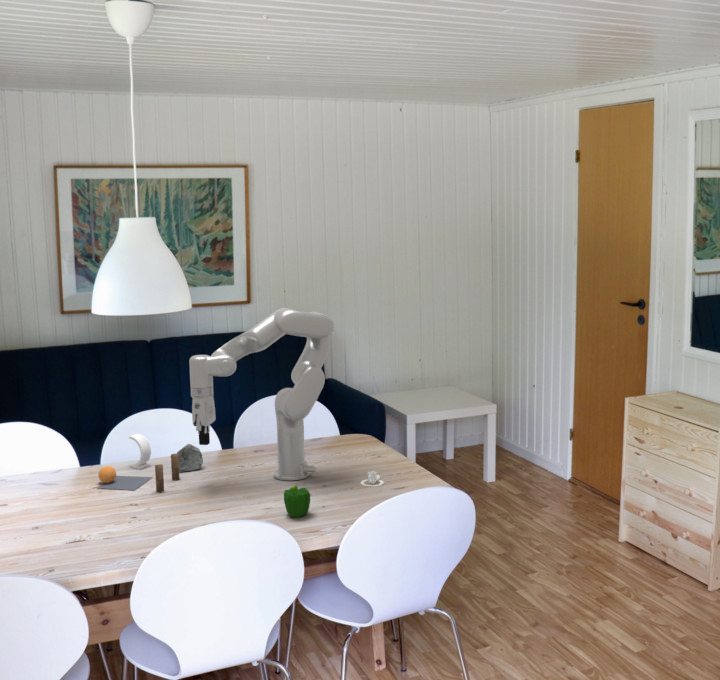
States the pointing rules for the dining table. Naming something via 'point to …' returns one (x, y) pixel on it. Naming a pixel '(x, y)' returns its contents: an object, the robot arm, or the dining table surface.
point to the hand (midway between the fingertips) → (204, 444)
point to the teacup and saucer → (372, 479)
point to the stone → (189, 458)
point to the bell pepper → (297, 501)
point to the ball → (107, 474)
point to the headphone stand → (142, 451)
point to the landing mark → (125, 483)
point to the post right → (175, 466)
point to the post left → (159, 478)
